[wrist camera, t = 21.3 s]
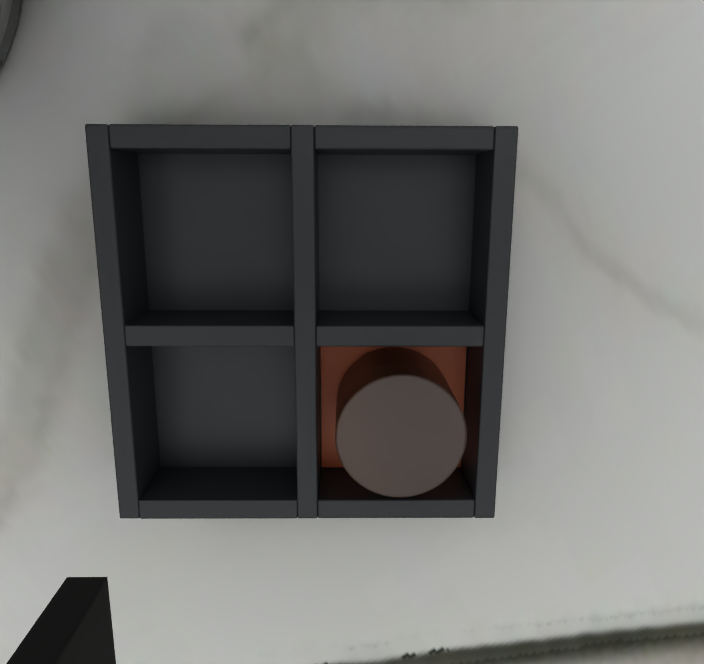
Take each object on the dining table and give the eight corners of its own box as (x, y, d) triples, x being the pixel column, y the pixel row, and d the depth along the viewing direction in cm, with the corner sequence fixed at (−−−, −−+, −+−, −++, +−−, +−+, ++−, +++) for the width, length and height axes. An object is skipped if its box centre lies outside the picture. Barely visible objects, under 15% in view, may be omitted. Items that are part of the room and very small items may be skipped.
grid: (147, 478, 28) (119, 519, 24) (120, 133, 24) (83, 123, 21) (476, 478, 28) (494, 518, 24) (494, 135, 24) (518, 125, 21)
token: (336, 453, 27) (335, 498, 23) (336, 346, 26) (334, 374, 22) (447, 453, 27) (464, 498, 23) (451, 346, 26) (470, 374, 22)
